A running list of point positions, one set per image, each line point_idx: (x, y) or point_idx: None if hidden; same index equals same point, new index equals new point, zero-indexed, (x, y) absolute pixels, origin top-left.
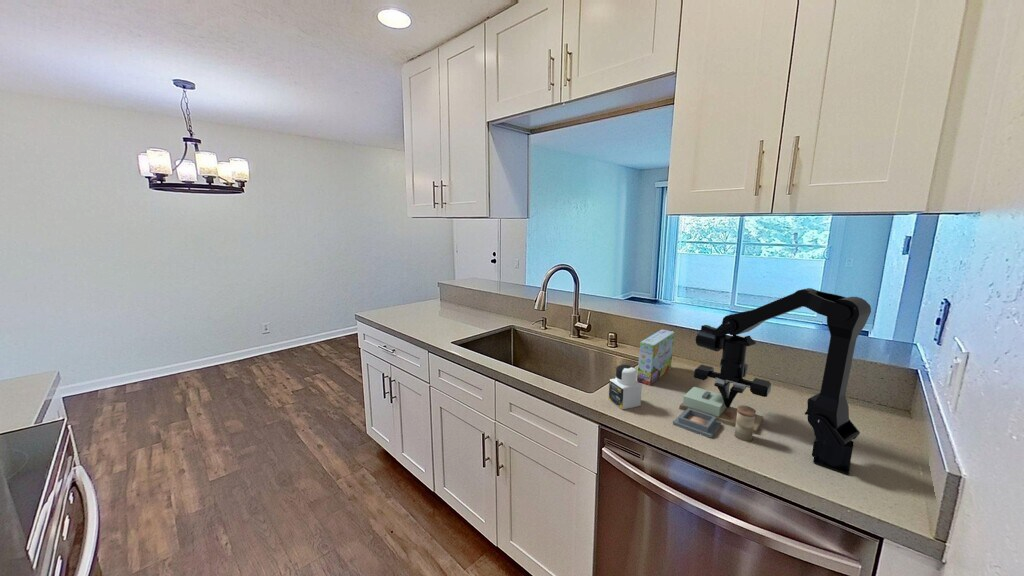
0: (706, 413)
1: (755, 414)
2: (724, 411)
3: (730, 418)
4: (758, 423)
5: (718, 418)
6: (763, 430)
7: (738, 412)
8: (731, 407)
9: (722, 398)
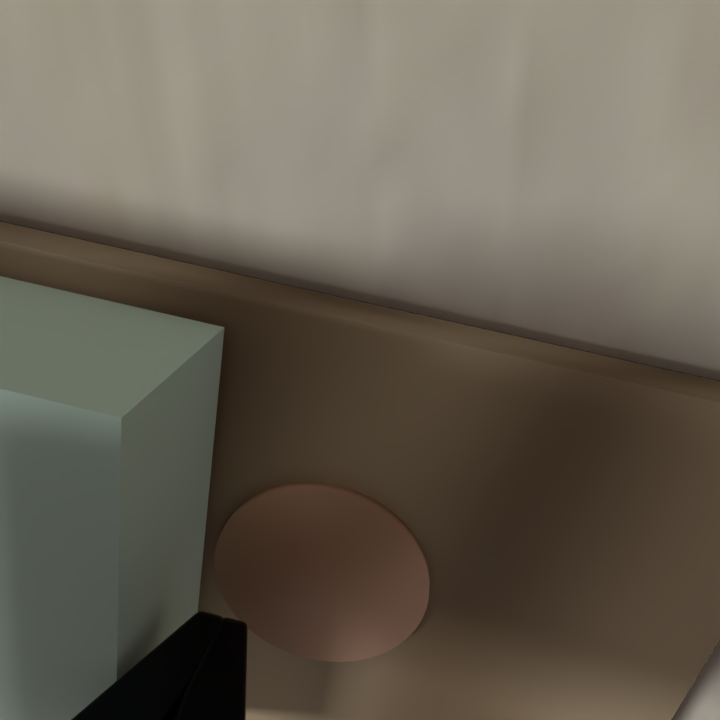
0: None
1: (702, 414)
2: (218, 553)
3: (317, 678)
4: (679, 684)
5: None
6: (712, 690)
7: None
8: (294, 338)
9: (42, 583)
